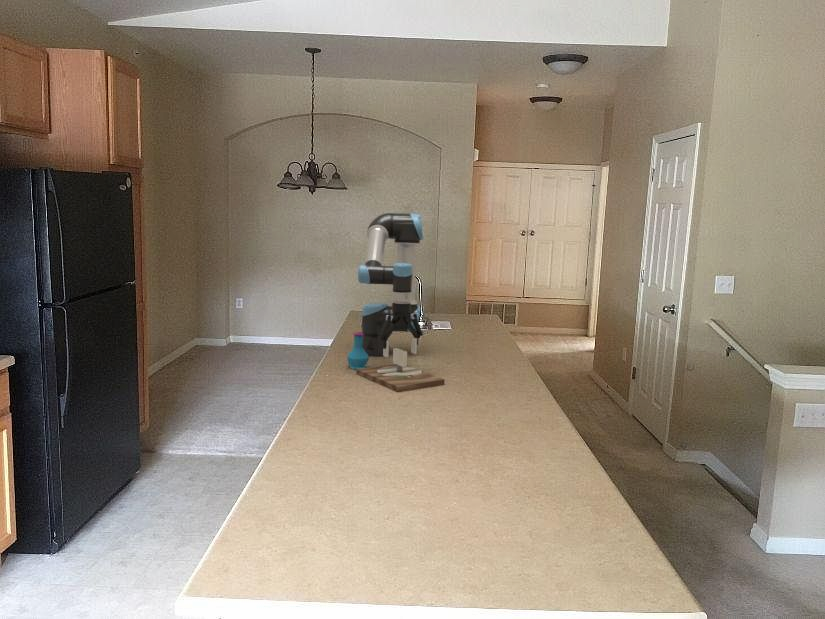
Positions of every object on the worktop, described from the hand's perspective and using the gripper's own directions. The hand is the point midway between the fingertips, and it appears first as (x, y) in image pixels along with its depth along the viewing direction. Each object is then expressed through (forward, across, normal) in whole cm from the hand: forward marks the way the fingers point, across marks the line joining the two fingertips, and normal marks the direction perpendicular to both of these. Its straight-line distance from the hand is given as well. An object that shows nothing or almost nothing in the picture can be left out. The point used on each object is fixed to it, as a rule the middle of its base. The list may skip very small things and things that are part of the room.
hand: (399, 355), depth 264 cm
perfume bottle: (+9, -7, +21) cm, 24 cm away
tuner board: (+9, -2, -3) cm, 10 cm away
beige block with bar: (+7, -4, 0) cm, 8 cm away
